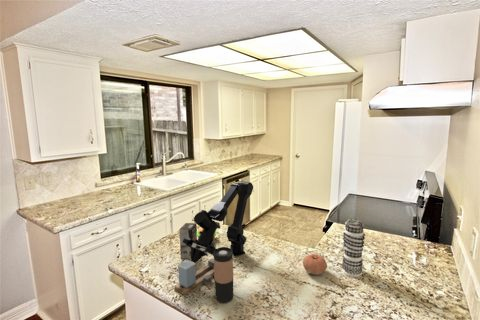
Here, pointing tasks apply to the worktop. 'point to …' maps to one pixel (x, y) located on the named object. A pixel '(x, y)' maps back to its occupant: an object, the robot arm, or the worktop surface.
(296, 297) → the worktop surface
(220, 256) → the travel mug
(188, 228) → the coffee box
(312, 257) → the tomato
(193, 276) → the block
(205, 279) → the beam
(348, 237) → the grey white banded cylinder
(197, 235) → the hamburger
